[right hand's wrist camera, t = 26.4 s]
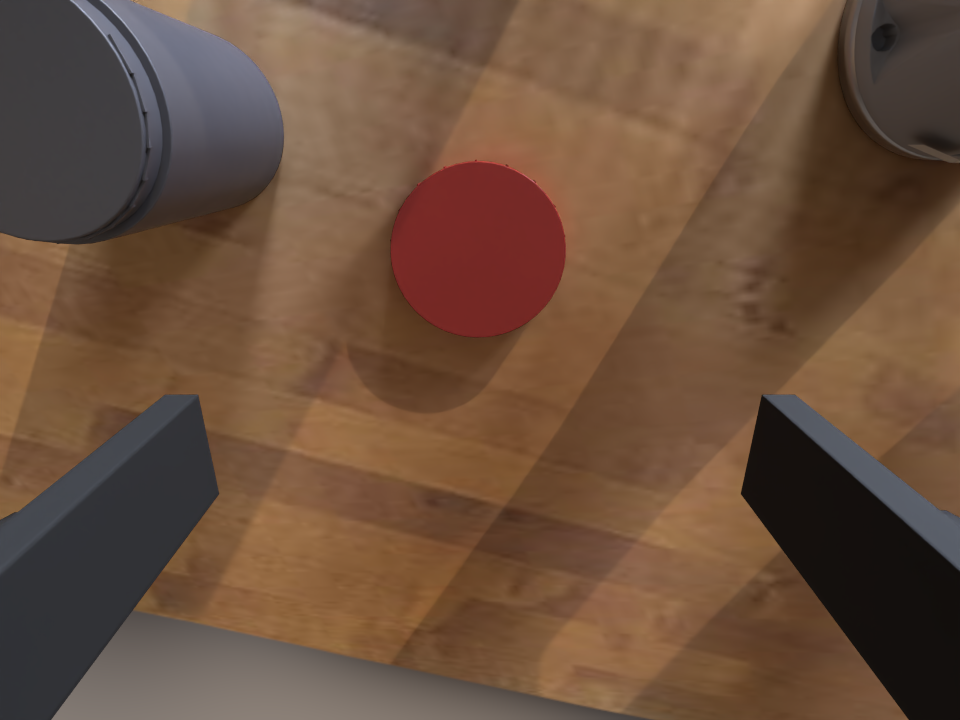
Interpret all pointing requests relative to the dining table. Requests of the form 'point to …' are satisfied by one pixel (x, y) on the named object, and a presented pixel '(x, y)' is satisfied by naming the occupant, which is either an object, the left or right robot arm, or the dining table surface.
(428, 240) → the lid
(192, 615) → the dining table surface
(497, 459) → the dining table surface
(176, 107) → the jar
